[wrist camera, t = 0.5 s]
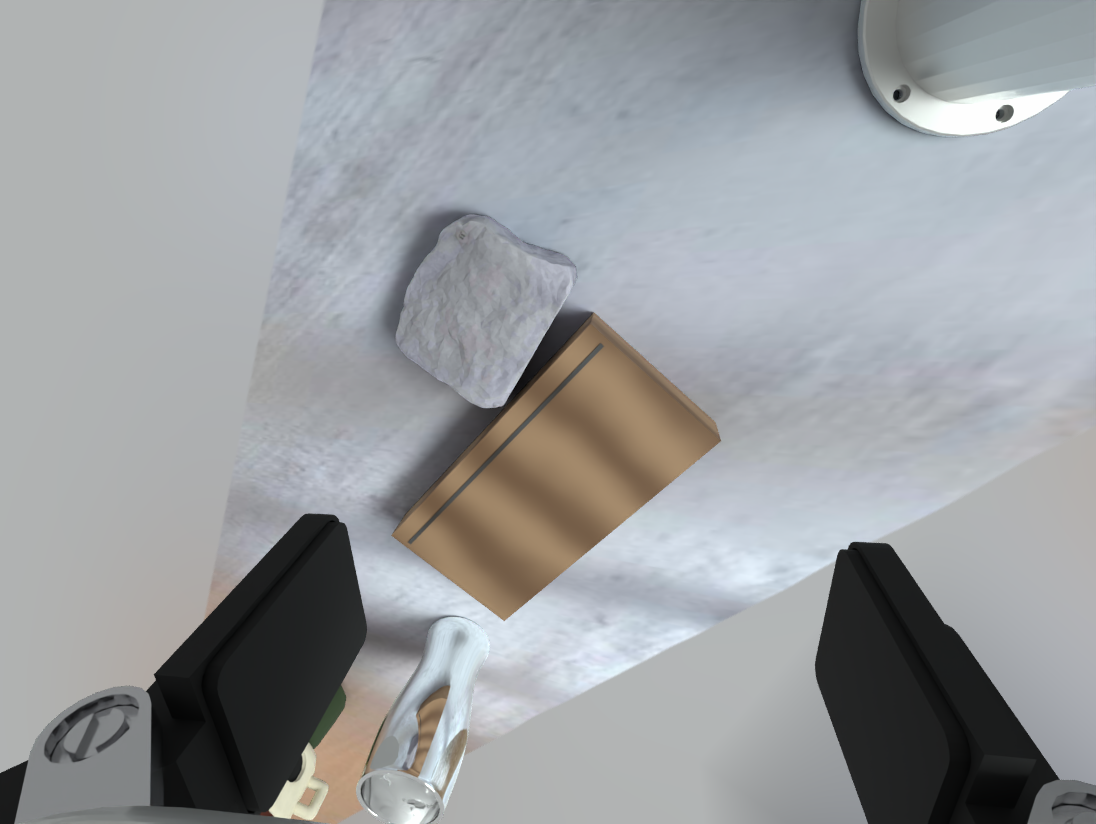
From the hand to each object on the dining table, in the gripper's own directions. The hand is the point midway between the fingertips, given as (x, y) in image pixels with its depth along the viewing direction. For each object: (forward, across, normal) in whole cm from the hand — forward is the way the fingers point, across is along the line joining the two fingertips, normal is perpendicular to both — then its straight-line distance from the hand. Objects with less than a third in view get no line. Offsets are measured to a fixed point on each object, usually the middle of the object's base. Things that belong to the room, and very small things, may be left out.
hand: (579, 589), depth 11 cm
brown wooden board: (+31, +5, +15) cm, 34 cm away
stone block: (+31, +9, +1) cm, 32 cm away
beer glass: (+31, +14, +34) cm, 48 cm away
